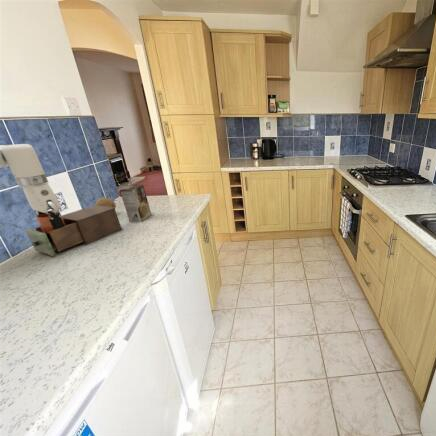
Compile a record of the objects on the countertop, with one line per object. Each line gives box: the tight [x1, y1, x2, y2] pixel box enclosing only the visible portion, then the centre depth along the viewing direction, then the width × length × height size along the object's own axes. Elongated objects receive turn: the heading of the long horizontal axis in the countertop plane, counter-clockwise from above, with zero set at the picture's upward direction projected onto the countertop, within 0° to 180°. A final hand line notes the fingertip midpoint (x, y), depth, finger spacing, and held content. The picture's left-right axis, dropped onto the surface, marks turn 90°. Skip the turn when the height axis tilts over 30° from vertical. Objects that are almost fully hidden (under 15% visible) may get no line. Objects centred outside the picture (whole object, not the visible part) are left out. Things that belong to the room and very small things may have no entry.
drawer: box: [24, 219, 84, 257], centre depth 94 cm, size 15×11×9 cm
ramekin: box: [35, 211, 66, 234], centre depth 92 cm, size 7×7×6 cm
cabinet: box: [61, 204, 123, 245], centre depth 104 cm, size 15×13×11 cm
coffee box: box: [118, 184, 152, 222], centre depth 119 cm, size 9×6×16 cm
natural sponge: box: [94, 196, 117, 209], centre depth 124 cm, size 9×9×10 cm
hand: (53, 226), depth 92 cm, fingers closed on ramekin, 6 cm apart
